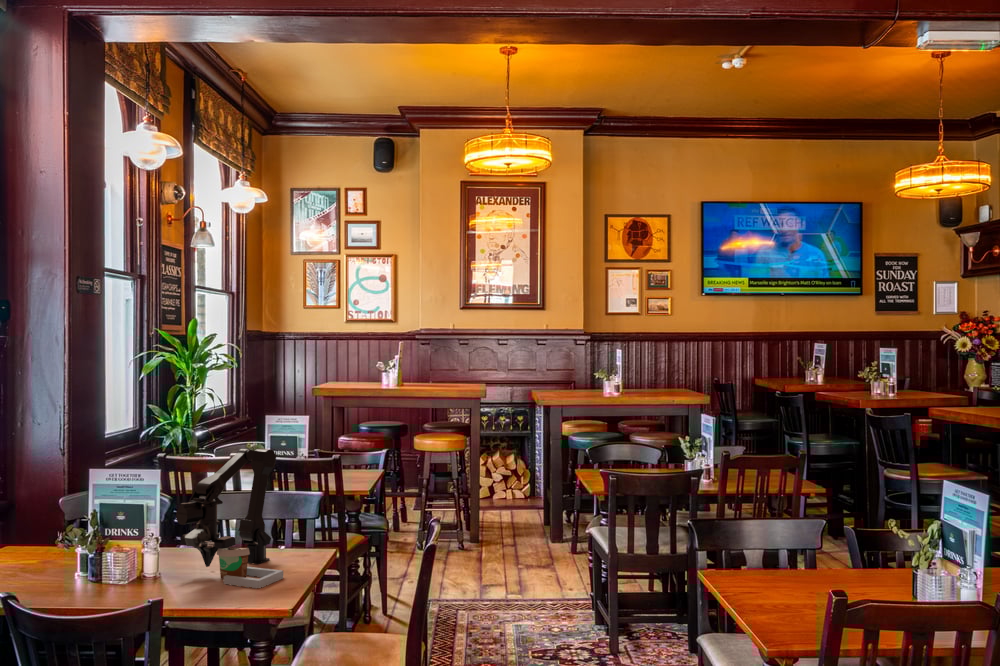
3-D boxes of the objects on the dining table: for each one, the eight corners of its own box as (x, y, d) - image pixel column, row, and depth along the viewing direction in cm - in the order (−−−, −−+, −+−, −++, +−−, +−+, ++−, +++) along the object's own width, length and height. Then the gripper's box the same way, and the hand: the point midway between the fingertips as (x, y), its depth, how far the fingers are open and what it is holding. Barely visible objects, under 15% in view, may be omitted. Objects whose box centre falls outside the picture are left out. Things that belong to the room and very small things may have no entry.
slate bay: (248, 574, 266) (248, 566, 266) (283, 578, 260) (283, 570, 260) (223, 584, 255) (223, 576, 255) (259, 588, 249) (259, 580, 249)
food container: (208, 578, 261) (208, 547, 261) (222, 573, 266) (223, 543, 267) (235, 583, 255) (235, 552, 255) (249, 578, 261) (249, 548, 261)
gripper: (167, 521, 261) (167, 569, 261) (212, 526, 254) (212, 575, 253) (193, 515, 271) (192, 561, 271) (236, 519, 264) (236, 567, 264)
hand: (207, 566), depth 264 cm, fingers closed
